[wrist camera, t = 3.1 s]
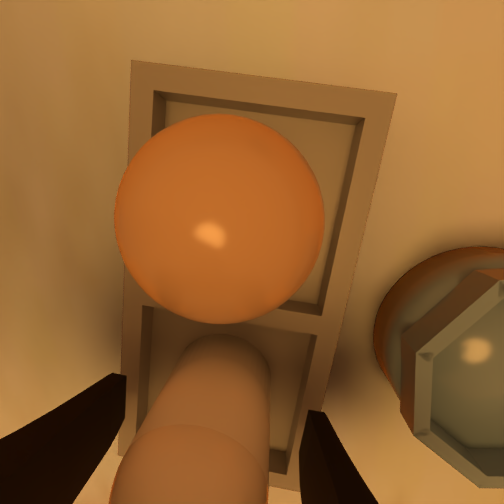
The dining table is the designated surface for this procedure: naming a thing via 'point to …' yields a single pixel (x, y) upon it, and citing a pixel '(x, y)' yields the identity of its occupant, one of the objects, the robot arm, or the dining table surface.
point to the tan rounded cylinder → (204, 431)
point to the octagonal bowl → (450, 357)
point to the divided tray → (326, 267)
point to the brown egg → (219, 218)
